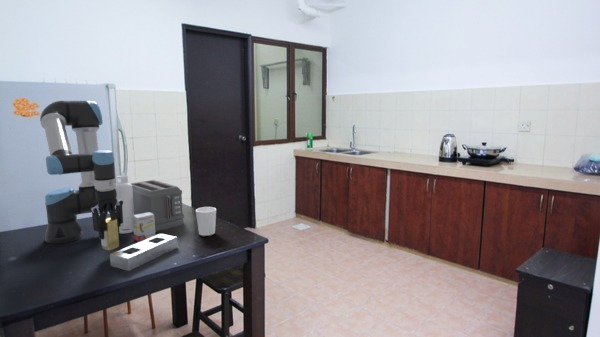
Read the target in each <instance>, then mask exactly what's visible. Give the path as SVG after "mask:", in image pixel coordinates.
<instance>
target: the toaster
mask: <svg viewBox="0 0 600 337" xmlns="http://www.w3.org/2000/svg"><path fill="white" fill-rule="evenodd" d="M129 183H130V182H129ZM130 184H131V185H132V190H133V203H134V215H137V214H142V213H147V212H151V213H153V214H154V219H155V232H160V231H164V230H167V229H171V228H174V227H179V226H181V225H184V219H185V214H184V212H183V198H182V197H183V196H182V194H183V190H182V189H180V187H178V186H177V185H173V184H170V183H166V182H163V181H159V180H155V179H152V180H151V179H150V180H143V181H138V182H132V183H130Z"/></svg>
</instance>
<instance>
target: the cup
mask: <svg viewBox="0 0 600 337" xmlns="http://www.w3.org/2000/svg"><path fill="white" fill-rule="evenodd" d="M195 216H196V223H197V229H198V235H199V236H201V237H202V238H205V237H206V236H207V237H212V235H215V233H216V221H217V208H216V207H213V206H203V207H198V208H196V209H195Z"/></svg>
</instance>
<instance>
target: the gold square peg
mask: <svg viewBox="0 0 600 337" xmlns="http://www.w3.org/2000/svg"><path fill="white" fill-rule="evenodd" d="M105 231H107V242H108V246H107V247H105V246H102V245H101V248H102V249H103V250H106V251H113V250H115V249H117V248H119V247H120V240H119V233H118V226H117V219H113V218H111V217H106V223H105Z"/></svg>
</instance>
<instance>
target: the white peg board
mask: <svg viewBox="0 0 600 337" xmlns="http://www.w3.org/2000/svg"><path fill="white" fill-rule="evenodd" d="M178 247H179V246H178V237H177V236H176V235H175V236H174V235H170V234H165V233H158V234H156V235H155V236H153V237H150V238H148V239H146V240H143V241H140V242H138V241H137V242H136V243H134V244H131V245H129V246H126V247H124V248H122V249H120V250H117V251H113V252H112V253H110V254H109V258H110V261H109V262H110V267H113V268H118V269H120V270H125V271H128V272H129V271H131V270H132V271H133V270H134V269H135V268H138V267H141V266H142V265H144V264H146V263H148V262H151V261H152V260H155V259H156V258H159V257H161V256H163V255H165V254H167V253H169V252H171V251H174V250H176V249H178Z"/></svg>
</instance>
